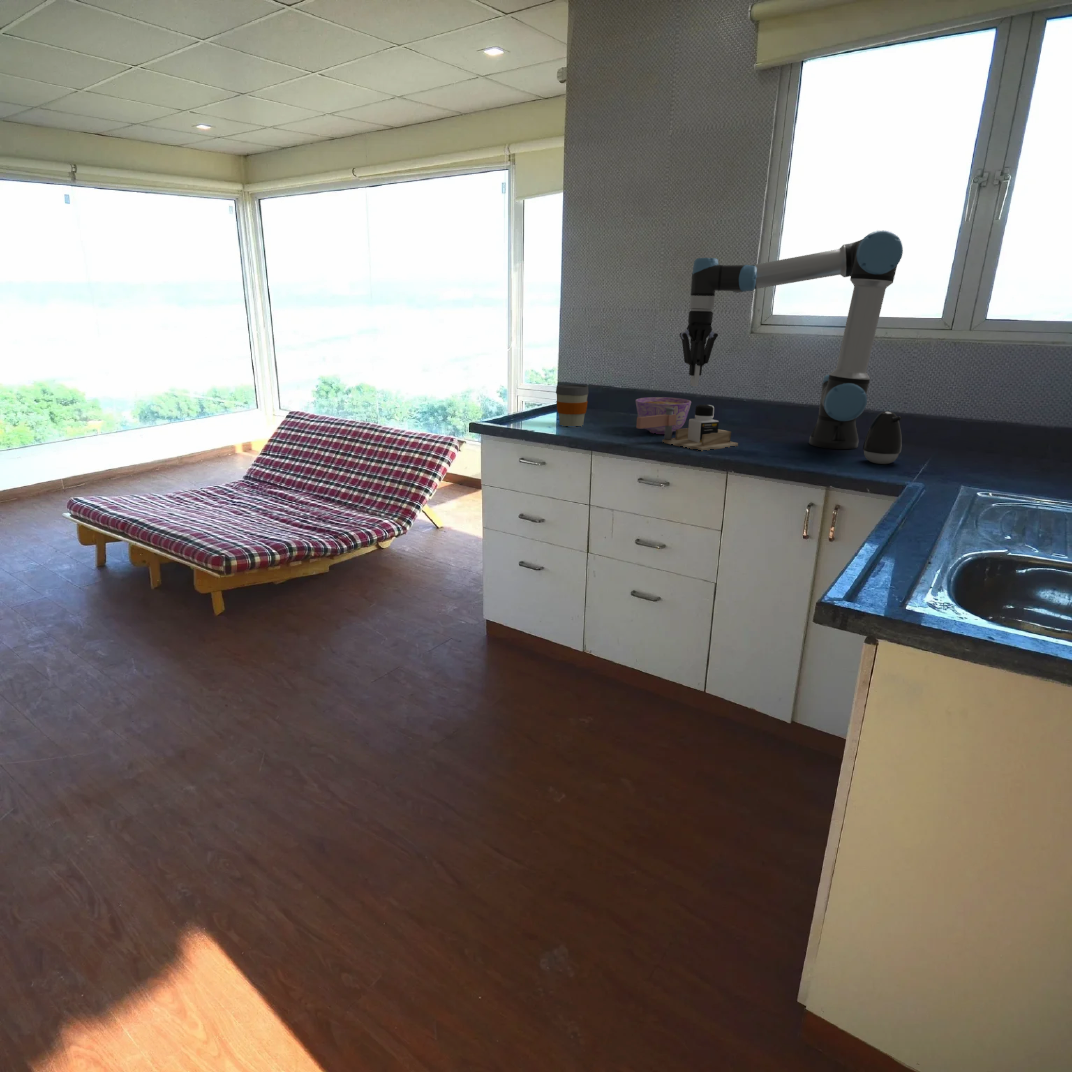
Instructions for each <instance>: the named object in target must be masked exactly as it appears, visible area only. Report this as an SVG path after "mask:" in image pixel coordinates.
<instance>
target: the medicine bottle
mask: <svg viewBox="0 0 1072 1072" xmlns="http://www.w3.org/2000/svg"><path fill="white" fill-rule="evenodd" d="M694 409H695V411H694V418H689V420H688V427H687V428H688V440H690V441H694V442H697V443H702V435H704V434H712V433H718V429H719V424H720V423H719V422H720V421H719V420H717V419H713V418H714V414H715V407H714V405H712V404H697V405H696V406H695V408H694Z"/></svg>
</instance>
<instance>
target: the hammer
mask: <svg viewBox="0 0 1072 1072" xmlns="http://www.w3.org/2000/svg"><path fill="white" fill-rule="evenodd" d="M673 410H674V408H666V414H663V415H654V416H644V417H638V416H637V417H636V429H641V430H642V429H645V428H651V427H659V426H665V434H664V437H663V438H664V439H667V440H670V439H672V438H673V437H672V436H673V433H672V425H676V414H673Z"/></svg>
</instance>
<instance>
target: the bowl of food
mask: <svg viewBox="0 0 1072 1072" xmlns="http://www.w3.org/2000/svg"><path fill="white" fill-rule="evenodd" d="M691 404H692V401H691V400H689V399H687V398H679V397H665V396H662V397H659V396H657V397H656V396H655V397H653V396H652V397H651V396H650V397H640V398H637V399H635V405H636V413H637V417H644V416H654V415H663V414H666V408H674V410H673V414H676V425H672V434H673V433H674V432H676V429H682V428H683V426H684V425H685V423H686V421H687V418H688V415H689V411H690V408H691ZM644 429H645V430H647V431H649V433H650V434H654V433H656V435H665V426H659V427H651V428H644Z"/></svg>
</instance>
